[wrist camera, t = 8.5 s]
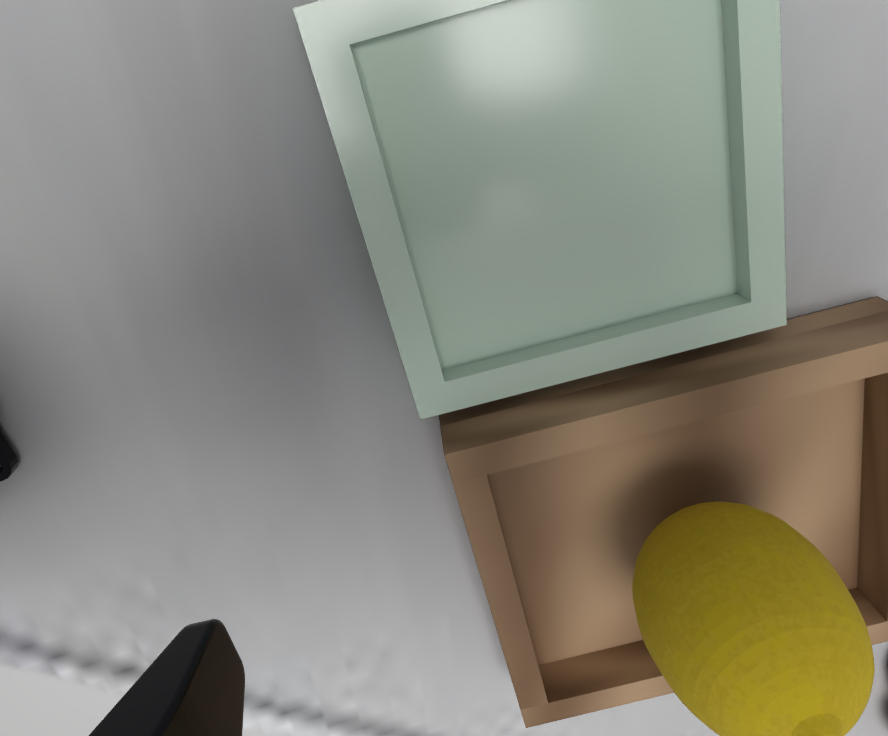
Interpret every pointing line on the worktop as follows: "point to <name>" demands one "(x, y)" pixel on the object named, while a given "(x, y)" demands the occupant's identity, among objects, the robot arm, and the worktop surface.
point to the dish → (557, 179)
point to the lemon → (751, 624)
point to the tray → (668, 489)
